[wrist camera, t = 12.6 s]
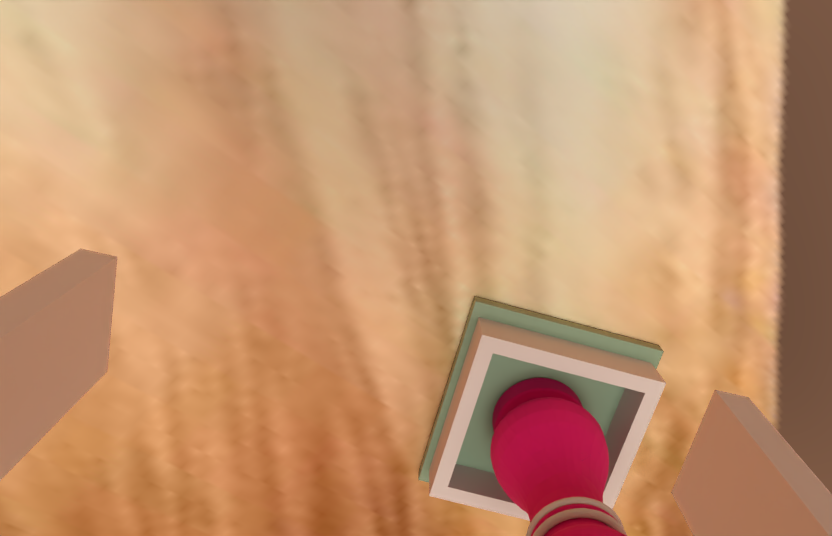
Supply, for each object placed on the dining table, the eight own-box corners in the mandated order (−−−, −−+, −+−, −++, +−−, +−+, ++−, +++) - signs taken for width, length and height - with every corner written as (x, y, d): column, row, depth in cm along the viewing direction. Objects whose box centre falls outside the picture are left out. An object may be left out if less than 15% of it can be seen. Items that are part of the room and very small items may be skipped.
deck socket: (474, 296, 45) (479, 317, 41) (658, 345, 46) (679, 371, 42) (418, 471, 49) (417, 506, 45) (588, 514, 50) (602, 551, 46)
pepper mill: (611, 426, 47) (738, 679, 28) (525, 481, 48) (590, 759, 29) (550, 349, 45) (640, 563, 26) (463, 409, 46) (489, 653, 27)
